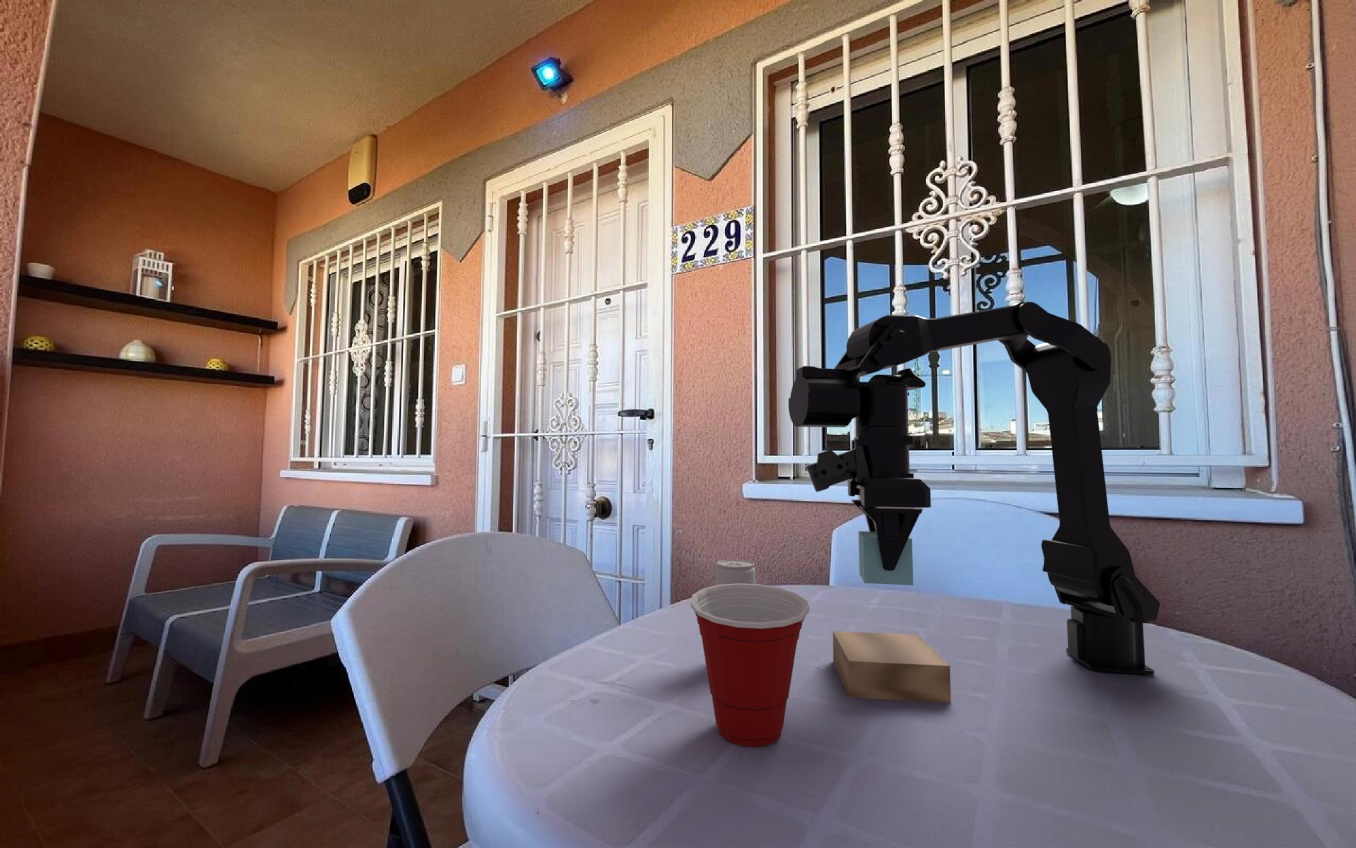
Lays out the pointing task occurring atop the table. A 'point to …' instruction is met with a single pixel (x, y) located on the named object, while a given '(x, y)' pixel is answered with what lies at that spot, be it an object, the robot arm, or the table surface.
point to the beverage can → (735, 572)
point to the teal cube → (873, 566)
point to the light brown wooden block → (890, 667)
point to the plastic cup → (749, 656)
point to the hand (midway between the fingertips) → (884, 565)
